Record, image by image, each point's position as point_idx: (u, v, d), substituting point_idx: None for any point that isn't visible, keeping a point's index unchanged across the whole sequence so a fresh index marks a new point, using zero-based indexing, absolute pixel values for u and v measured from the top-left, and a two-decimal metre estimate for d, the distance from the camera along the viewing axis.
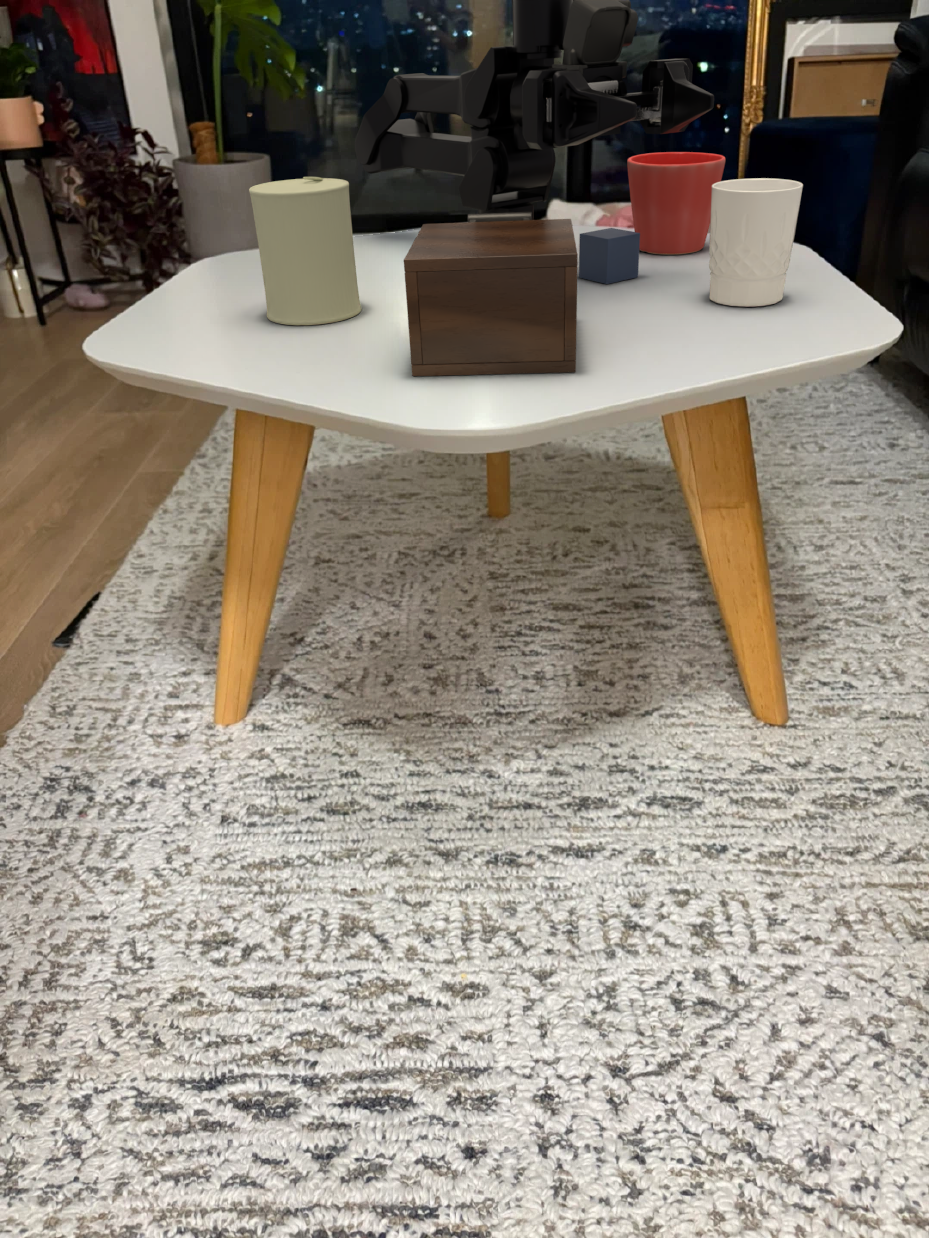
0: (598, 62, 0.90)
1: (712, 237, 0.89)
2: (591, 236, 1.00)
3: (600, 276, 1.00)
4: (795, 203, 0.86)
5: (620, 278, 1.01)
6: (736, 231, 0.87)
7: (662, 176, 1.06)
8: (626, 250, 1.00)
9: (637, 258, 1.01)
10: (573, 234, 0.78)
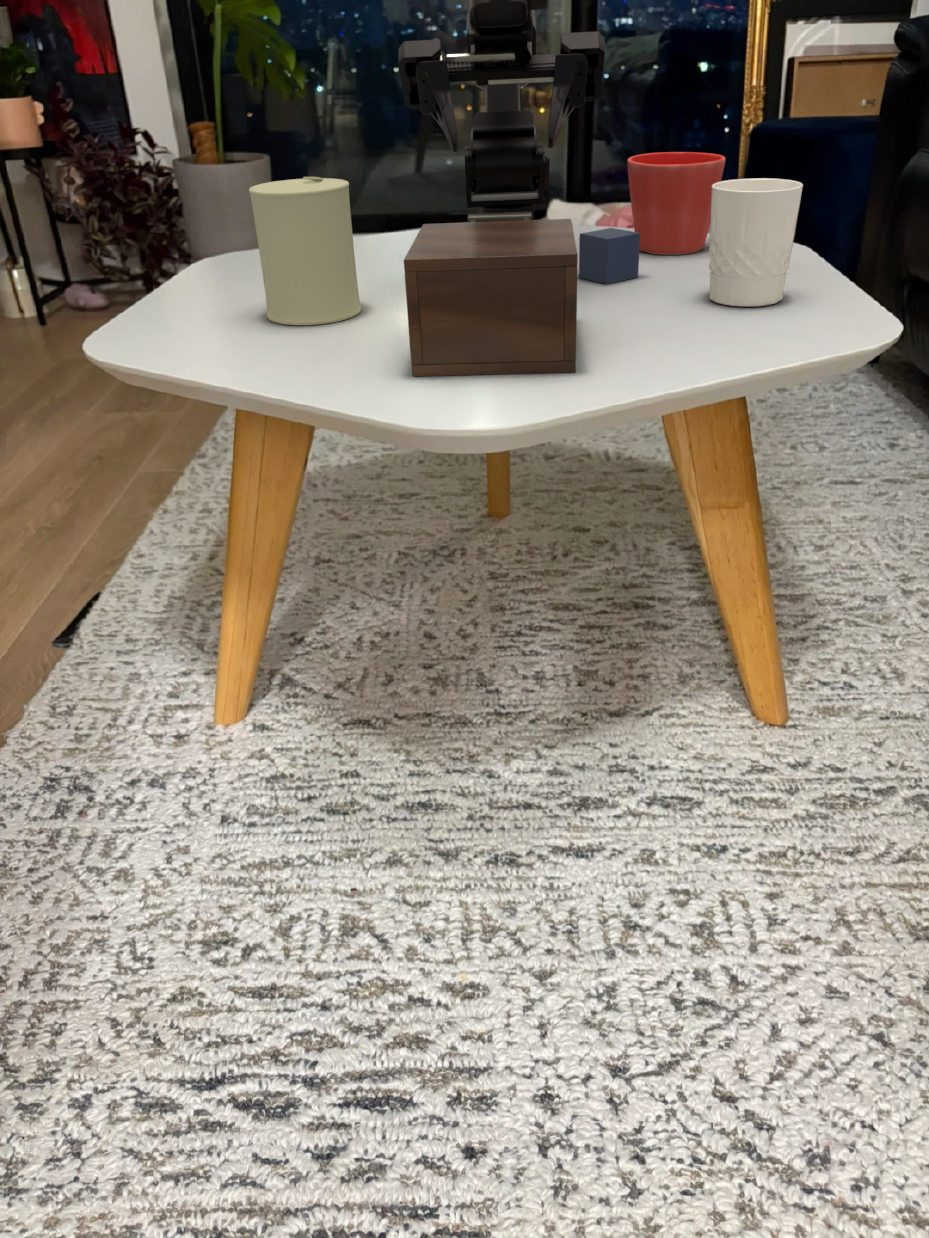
0: (499, 26, 0.88)
1: (712, 237, 0.89)
2: (591, 236, 1.00)
3: (600, 276, 1.00)
4: (795, 203, 0.86)
5: (620, 278, 1.01)
6: (736, 231, 0.87)
7: (662, 176, 1.06)
8: (626, 250, 1.00)
9: (637, 258, 1.01)
10: (573, 234, 0.78)
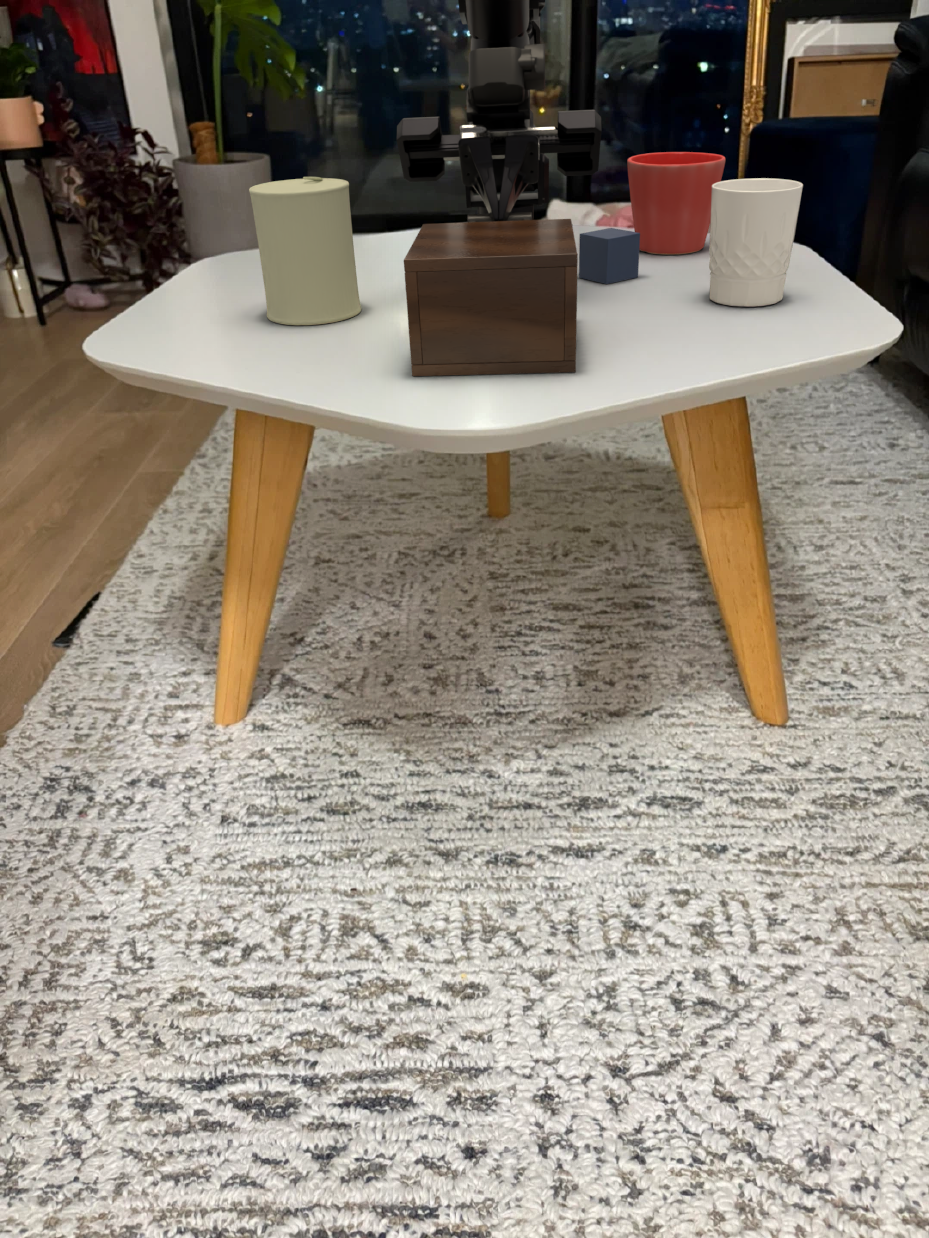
0: (496, 105, 0.89)
1: (712, 237, 0.89)
2: (591, 236, 1.00)
3: (600, 276, 1.00)
4: (795, 203, 0.86)
5: (620, 278, 1.01)
6: (736, 231, 0.87)
7: (662, 176, 1.06)
8: (626, 250, 1.00)
9: (637, 258, 1.01)
10: (573, 234, 0.78)
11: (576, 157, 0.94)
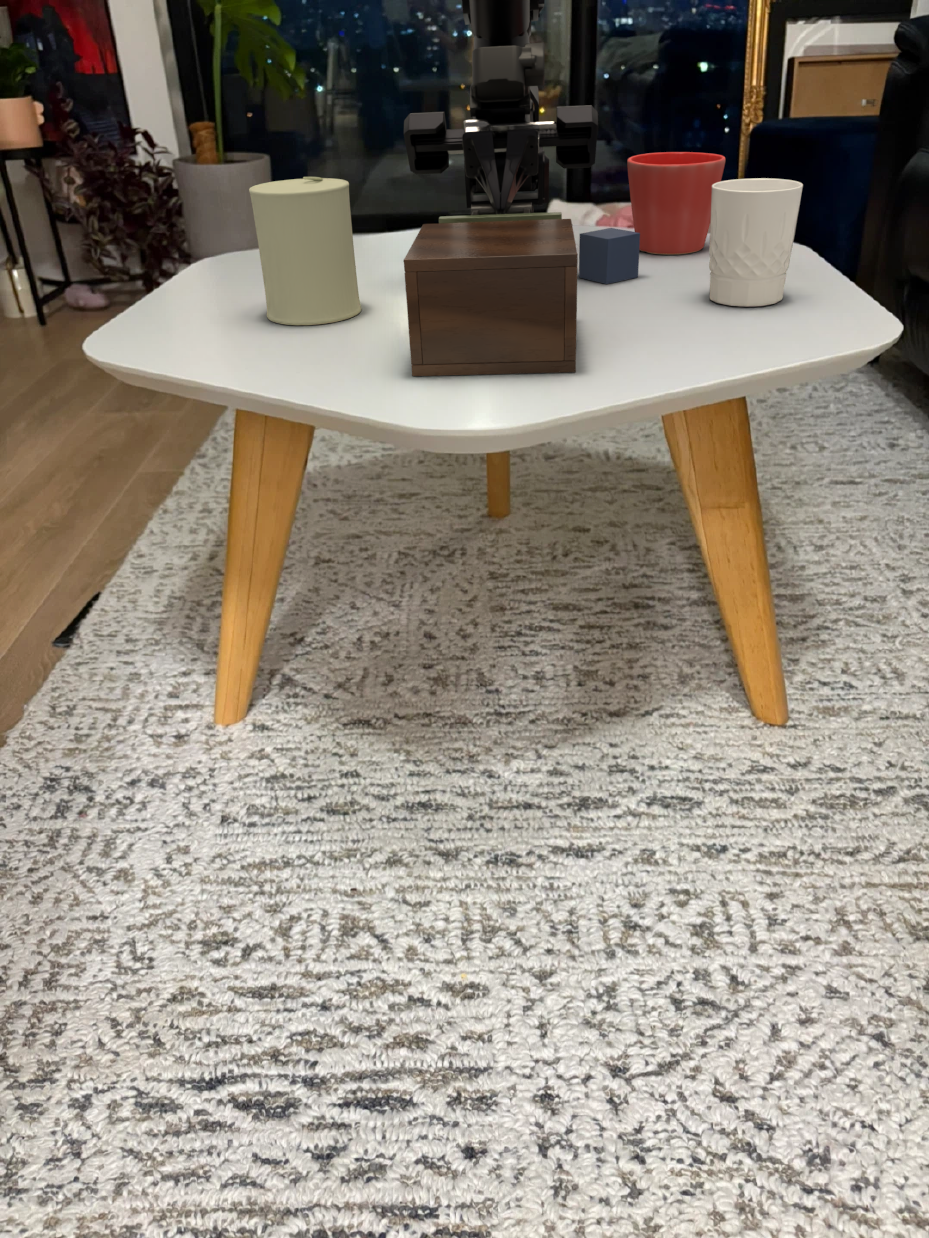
0: (498, 101, 0.94)
1: (712, 237, 0.89)
2: (591, 236, 1.00)
3: (600, 276, 1.00)
4: (795, 203, 0.86)
5: (620, 278, 1.01)
6: (736, 231, 0.87)
7: (662, 176, 1.06)
8: (626, 250, 1.00)
9: (637, 258, 1.01)
10: (573, 234, 0.78)
11: (574, 150, 0.98)
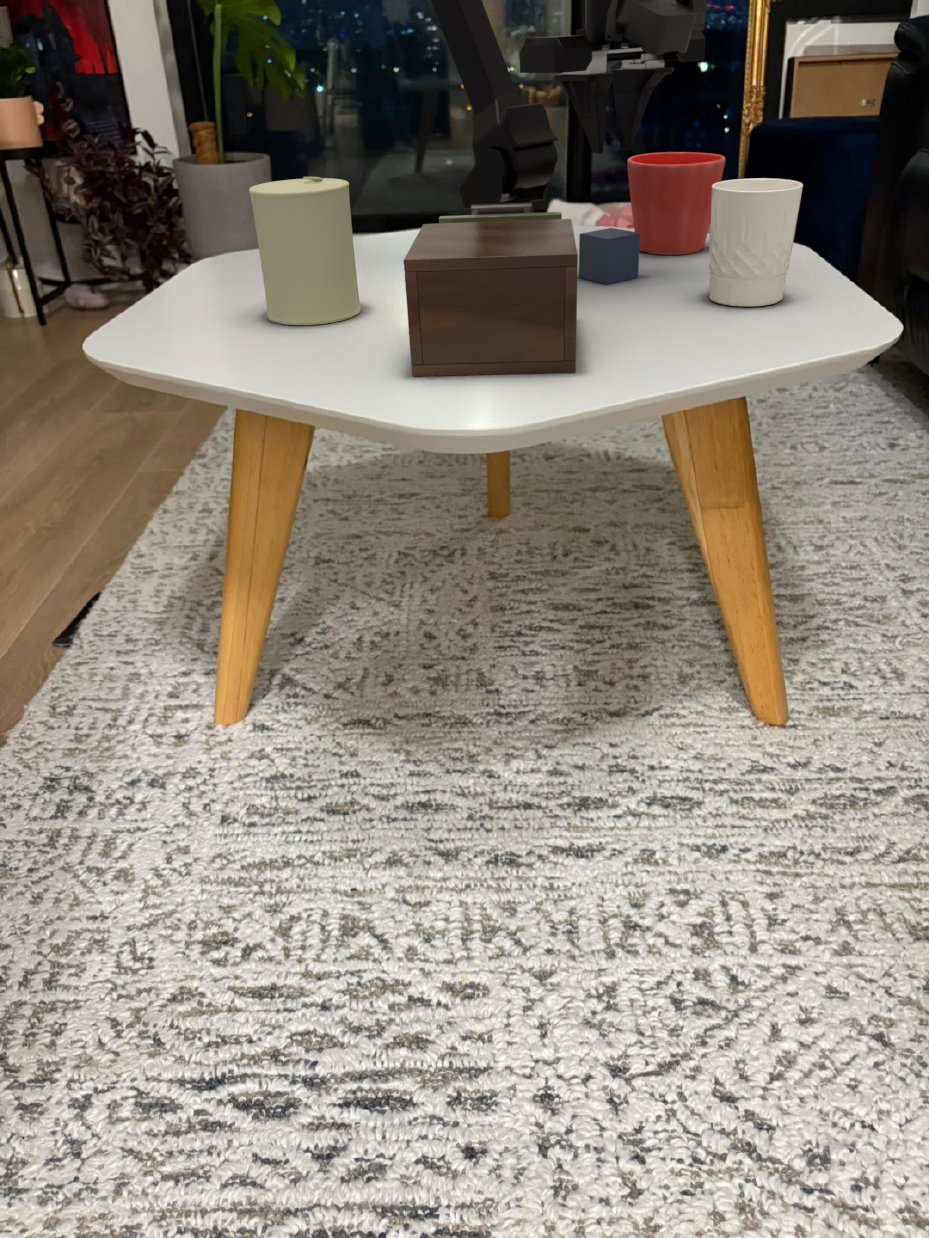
0: None
1: (712, 237, 0.89)
2: (591, 236, 1.00)
3: (600, 276, 1.00)
4: (795, 203, 0.86)
5: (620, 278, 1.01)
6: (736, 231, 0.87)
7: (662, 176, 1.06)
8: (626, 250, 1.00)
9: (637, 258, 1.01)
10: (573, 234, 0.78)
11: None
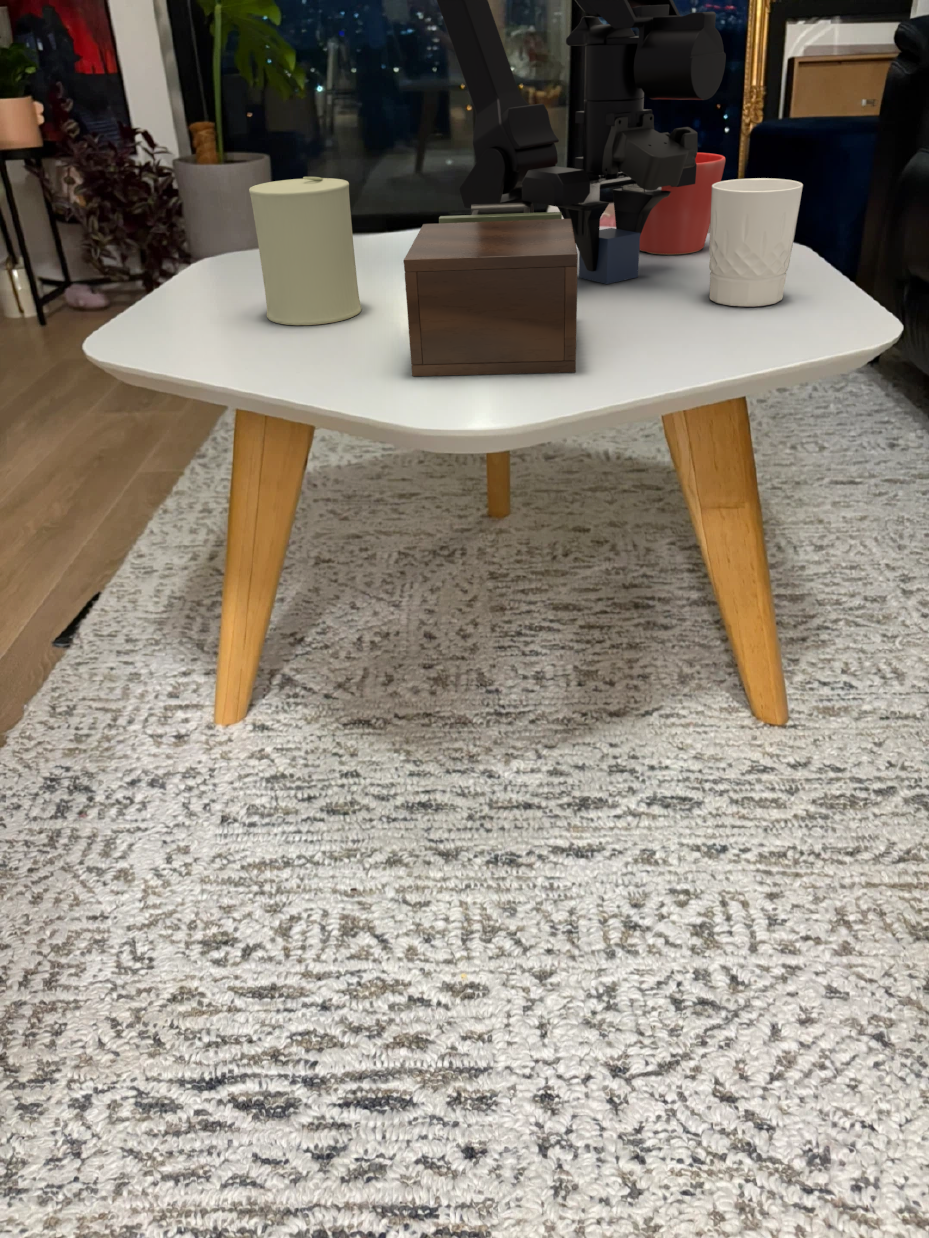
0: None
1: (712, 237, 0.89)
2: None
3: (600, 276, 1.00)
4: (795, 203, 0.86)
5: (620, 278, 1.01)
6: (736, 231, 0.87)
7: None
8: (626, 250, 1.00)
9: (637, 258, 1.01)
10: (573, 234, 0.78)
11: None
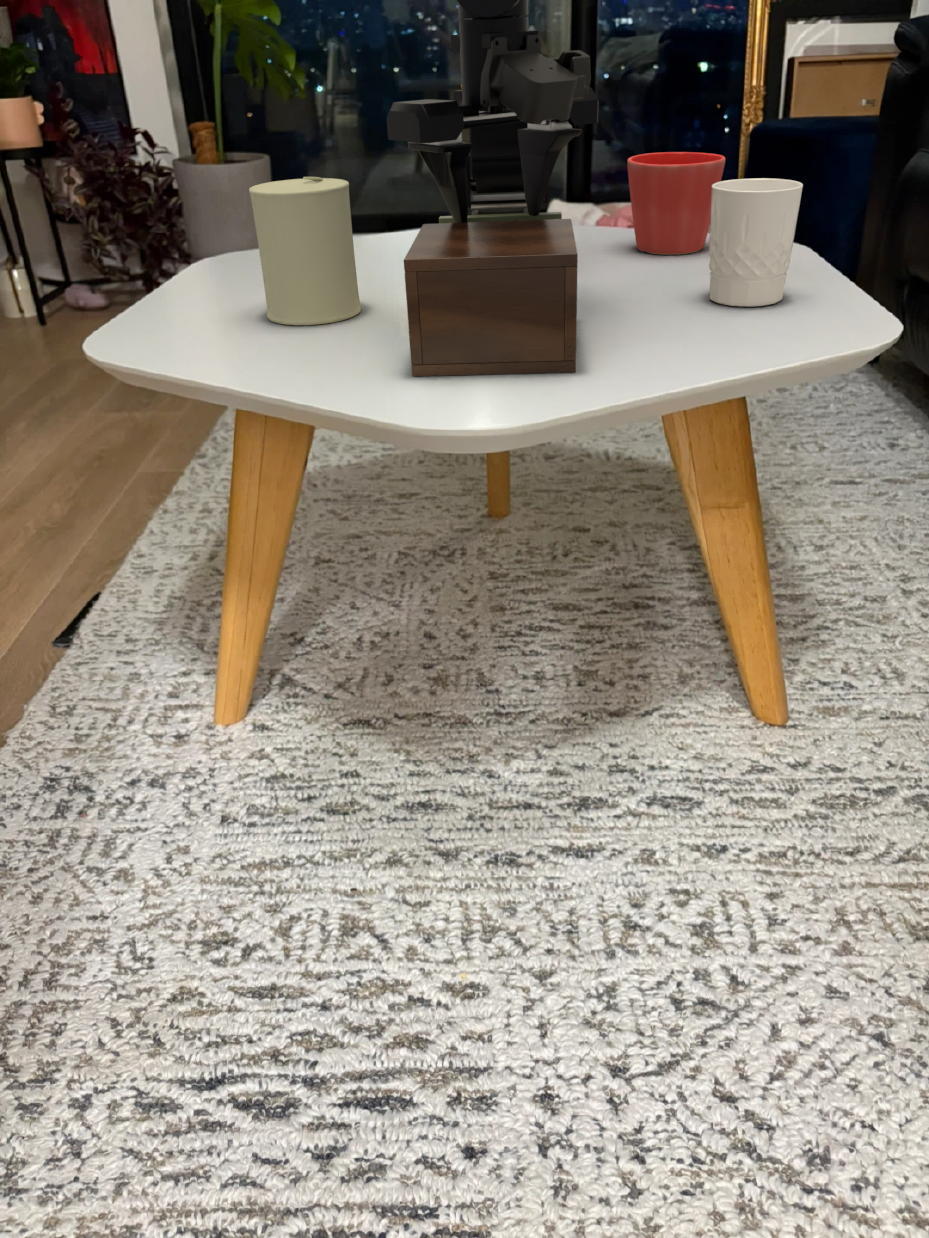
0: None
1: (712, 237, 0.89)
2: None
3: None
4: (795, 203, 0.86)
5: None
6: (736, 231, 0.87)
7: (662, 176, 1.06)
8: None
9: None
10: (573, 234, 0.78)
11: None
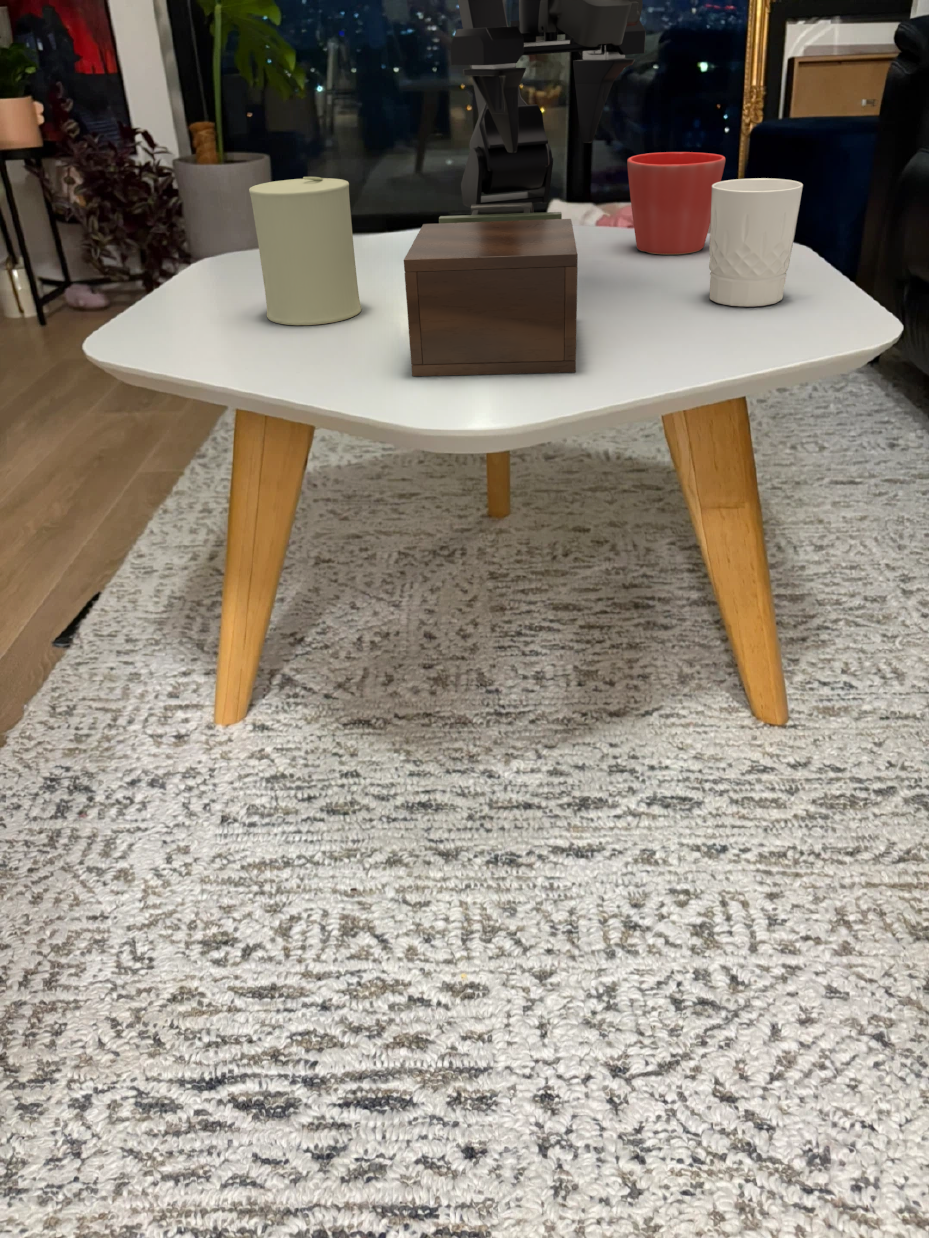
0: None
1: (712, 237, 0.89)
2: None
3: None
4: (795, 203, 0.86)
5: None
6: (736, 231, 0.87)
7: (662, 176, 1.06)
8: None
9: None
10: (573, 234, 0.78)
11: None
